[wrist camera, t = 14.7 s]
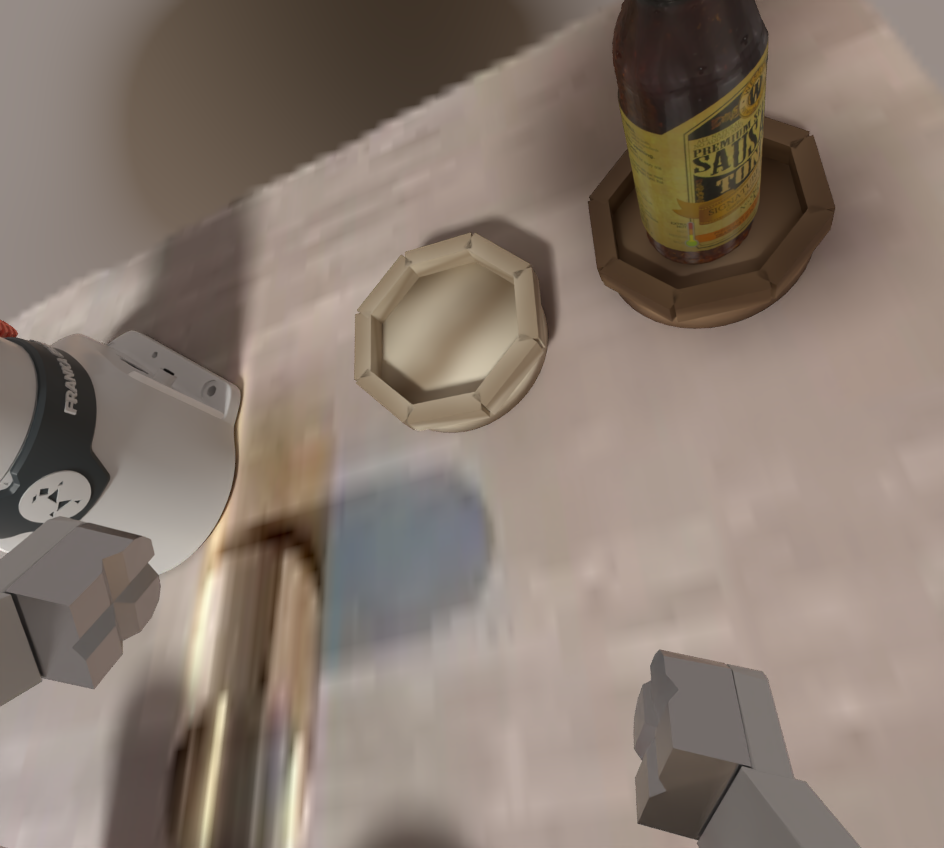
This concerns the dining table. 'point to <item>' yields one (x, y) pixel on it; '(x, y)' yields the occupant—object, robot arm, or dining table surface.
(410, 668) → the dining table surface
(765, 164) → the walnut ring seat
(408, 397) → the birch ring seat
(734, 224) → the sauce bottle
